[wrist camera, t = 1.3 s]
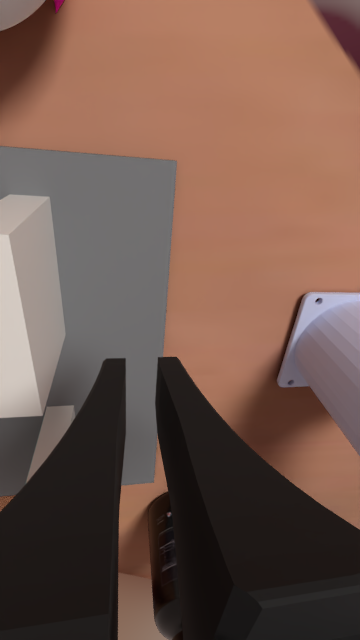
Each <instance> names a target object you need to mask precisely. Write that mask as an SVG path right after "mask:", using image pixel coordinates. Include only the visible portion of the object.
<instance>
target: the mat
mask: <svg viewBox="0 0 360 640" xmlns="http://www.w3.org/2000/svg"><path fill="white" fill-rule="evenodd" d="M176 166H177V161H174V160H162V159H150V158H138V157H126V156H114V155H102V154H90V153H78V152H66V151H54V150H42V149H30V148H18V147H6V146H0V200H1V199H3V198H4V197H6V196H8V195H10V194H11V195H28V196H45V197H50V204H51V212H52V221H53V230H54V238H55V247H56V256H57V264H58V273H59V281H60V290H61V299H62V307H63V316H64V325H65V333H66V335H65V339H64V342H63V346H62V349H61V353H60V356H59V360H58V363H57V367H56V370H55V374H54V377H53V381H52V385H51V388H50V392H49V395H48V399H47V402H46V406H45V409H44V413H43V416H29V417H10V418H0V497H1V496H12V495H17V493H18V492H19V491H20V490H21V489H22V488H23V487H24V485H25V483H26V479H27V476H28V472H29V468H30V465H31V461H32V458H33V454H34V450H35V447H36V443H37V440H38V436H39V432H40V429H41V425H42V422H43V418H44V415H45V412H46V408H47V407H51V406H71V405H74V411H75V417H76V415H77V414H78V412H79V411H80V409H81V407H82V406H83V404H84V402H85V400H86V398H87V396H88V395H89V393H90V391H91V389H92V387H93V385H94V383H95V381H96V379H97V376H98V374H99V372H100V369H101V366H102V363H103V361H104V360H105V359H106V358H126V438H125V449H124V460H123V471H122V482H121V485H132V484H143V483H154V473H155V460H156V446H157V423H156V409H155V396H156V379H157V363H158V357H163V348H164V334H165V320H166V306H167V292H168V278H169V264H170V250H171V236H172V222H173V208H174V194H175V180H176Z"/></svg>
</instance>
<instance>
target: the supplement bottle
mask: <svg viewBox="0 0 360 640" xmlns="http://www.w3.org/2000/svg"><path fill="white" fill-rule="evenodd" d="M148 531H149V546H150V562H151V577H152V592H153V608H154V619H155V623H156V626H157V628H158V630H159V631H160V633H161V634H162V635H163V636H164V637H166V638H167V639H169V640H183V630H182V618H181V606H180V595H179V583H178V572H177V561H176V550H175V540H174V530H173V519H172V511H171V504H170V497H169V492H167V493H165V494H163V495H162V496H160V497H159V498H158V499H156V500H155V501H154V503H153V504H152V505H151V507H150V509H149V512H148Z"/></svg>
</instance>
